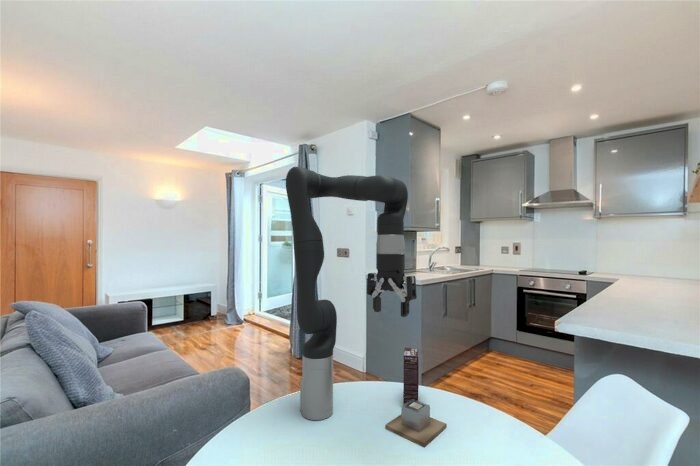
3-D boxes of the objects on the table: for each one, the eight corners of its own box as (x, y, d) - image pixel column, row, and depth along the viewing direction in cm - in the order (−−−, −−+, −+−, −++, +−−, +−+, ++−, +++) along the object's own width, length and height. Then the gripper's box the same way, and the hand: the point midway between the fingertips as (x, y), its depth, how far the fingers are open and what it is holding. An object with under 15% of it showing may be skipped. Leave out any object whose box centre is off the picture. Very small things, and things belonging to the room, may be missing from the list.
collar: (401, 424, 87) (401, 405, 87) (412, 416, 91) (412, 398, 91) (419, 432, 83) (419, 413, 83) (430, 423, 87) (429, 405, 88)
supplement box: (419, 409, 97) (418, 356, 98) (403, 407, 98) (402, 355, 99) (418, 396, 106) (418, 348, 106) (404, 395, 107) (403, 347, 107)
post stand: (385, 428, 87) (385, 406, 87) (409, 412, 96) (409, 391, 96) (424, 447, 79) (424, 422, 79) (446, 427, 87) (446, 405, 88)
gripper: (360, 252, 86) (360, 312, 85) (405, 252, 77) (405, 320, 76) (377, 251, 92) (377, 308, 91) (421, 252, 82) (421, 315, 81)
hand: (390, 314), depth 83 cm, fingers open, 8 cm apart
